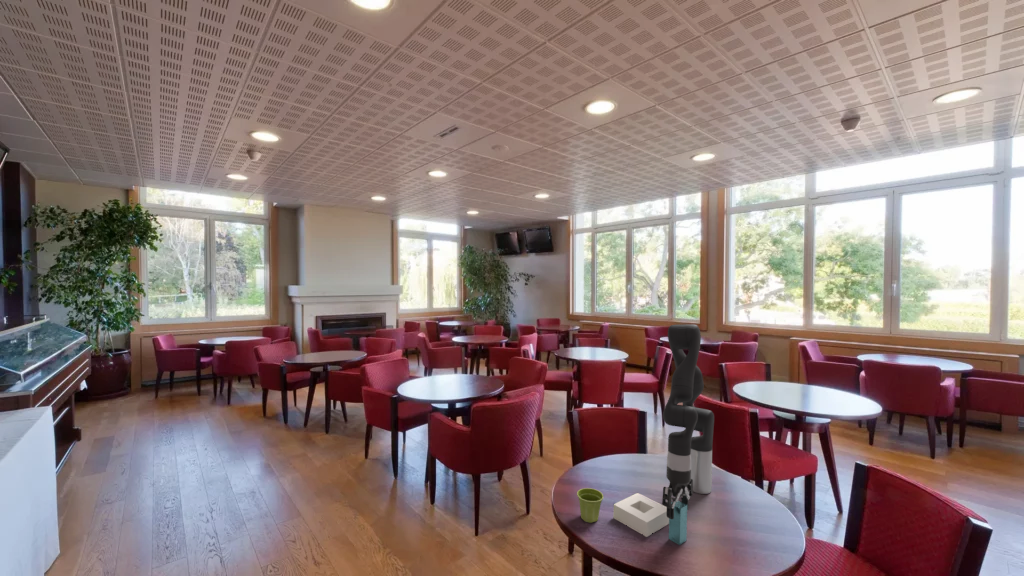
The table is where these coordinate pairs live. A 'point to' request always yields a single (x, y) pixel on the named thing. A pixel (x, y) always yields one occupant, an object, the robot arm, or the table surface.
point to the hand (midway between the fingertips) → (677, 513)
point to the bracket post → (678, 524)
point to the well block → (641, 514)
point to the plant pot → (589, 504)
